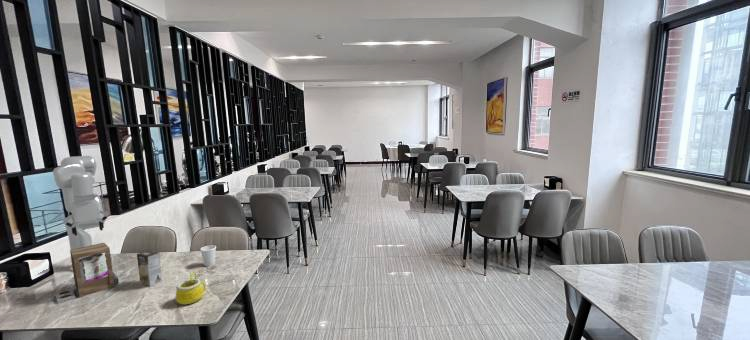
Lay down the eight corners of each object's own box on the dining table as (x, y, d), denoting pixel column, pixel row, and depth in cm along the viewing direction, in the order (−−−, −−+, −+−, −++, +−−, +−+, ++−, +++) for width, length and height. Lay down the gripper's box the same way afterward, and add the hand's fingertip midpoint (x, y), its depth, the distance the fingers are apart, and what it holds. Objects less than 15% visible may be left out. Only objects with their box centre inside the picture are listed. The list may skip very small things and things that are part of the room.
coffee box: (139, 283, 166) (135, 253, 164) (152, 278, 172) (149, 249, 170) (150, 286, 162) (146, 256, 160) (163, 281, 168) (159, 251, 166)
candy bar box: (102, 282, 168) (98, 252, 166) (110, 283, 167) (106, 252, 165) (79, 293, 157) (74, 260, 156) (87, 293, 156) (82, 261, 155)
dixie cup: (220, 263, 190) (219, 246, 188) (206, 268, 183) (205, 251, 182) (212, 260, 194) (211, 244, 193) (198, 265, 187) (197, 248, 186)
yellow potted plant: (184, 308, 140) (182, 282, 139) (171, 302, 146) (169, 277, 145) (212, 295, 151) (210, 271, 149) (199, 290, 157) (197, 266, 155)
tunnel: (75, 289, 162) (69, 249, 159) (109, 280, 172) (104, 242, 169) (79, 297, 153) (73, 255, 151) (114, 287, 163) (109, 247, 161)
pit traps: (55, 295, 156) (54, 293, 156) (72, 290, 160) (71, 288, 160) (57, 303, 148) (57, 301, 148) (75, 298, 152) (75, 295, 152)
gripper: (105, 194, 168) (109, 226, 170) (58, 200, 155) (63, 235, 157) (108, 196, 163) (112, 229, 165) (60, 202, 150) (65, 238, 152)
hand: (88, 232), depth 161 cm, fingers open, 9 cm apart
